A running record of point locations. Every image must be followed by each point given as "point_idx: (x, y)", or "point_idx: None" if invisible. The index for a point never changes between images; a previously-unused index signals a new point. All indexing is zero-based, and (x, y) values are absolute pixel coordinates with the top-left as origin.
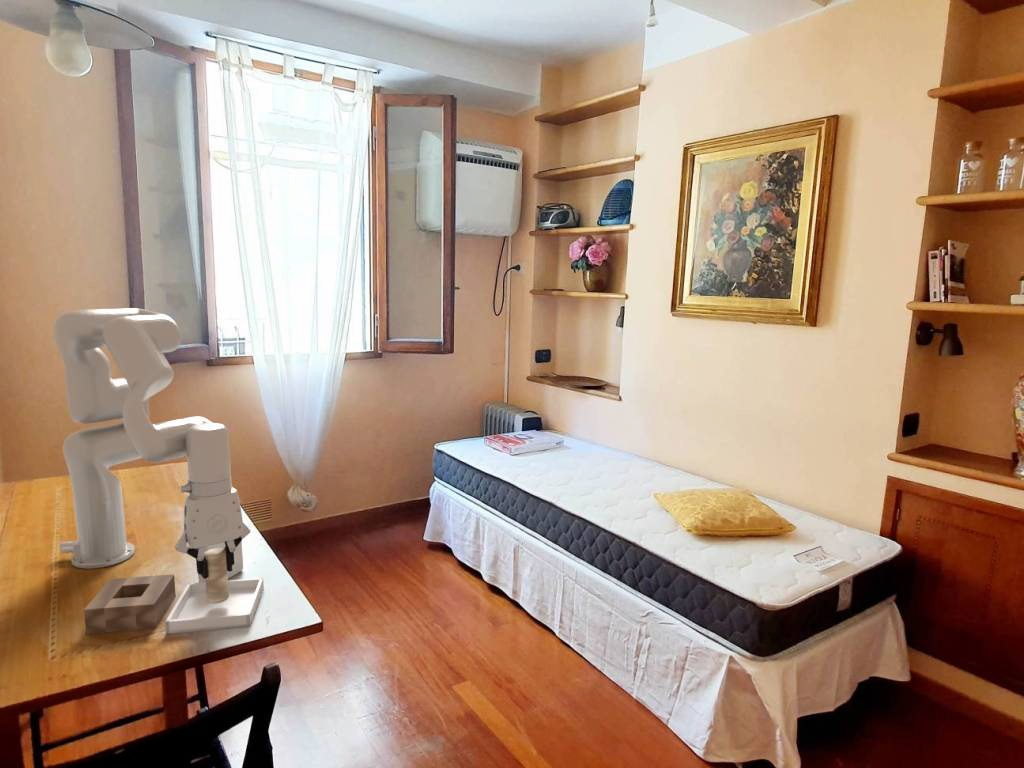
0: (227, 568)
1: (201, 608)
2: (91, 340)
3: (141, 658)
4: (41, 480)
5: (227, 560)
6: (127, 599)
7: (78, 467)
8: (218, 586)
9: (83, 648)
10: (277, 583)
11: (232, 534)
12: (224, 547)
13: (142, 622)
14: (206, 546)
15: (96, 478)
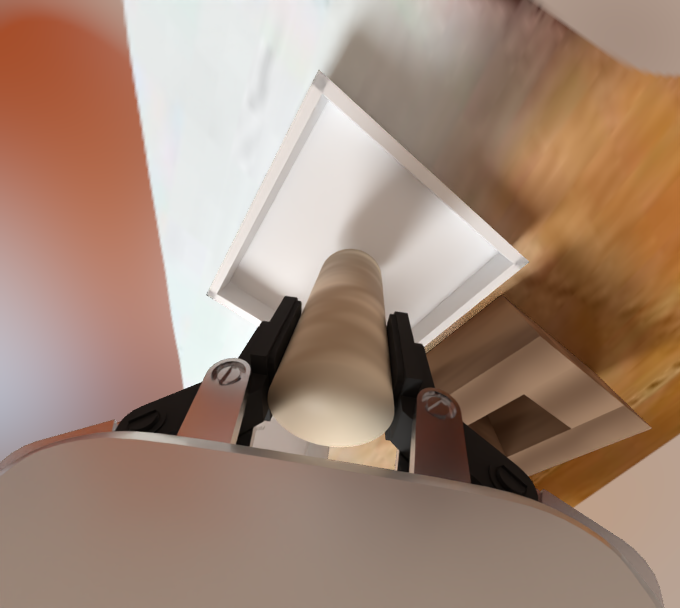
0: (298, 316)
1: (385, 293)
2: None
3: (646, 166)
4: None
5: (286, 336)
6: (554, 403)
7: None
8: (357, 272)
9: (651, 328)
10: (186, 278)
11: (103, 511)
12: (253, 446)
13: (531, 321)
14: (441, 479)
15: None
